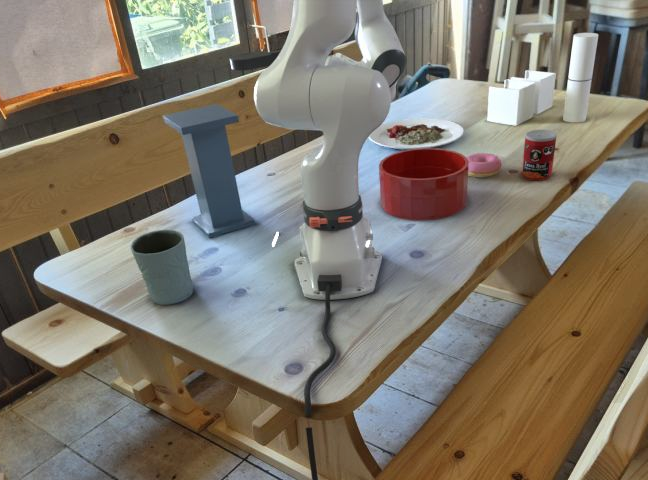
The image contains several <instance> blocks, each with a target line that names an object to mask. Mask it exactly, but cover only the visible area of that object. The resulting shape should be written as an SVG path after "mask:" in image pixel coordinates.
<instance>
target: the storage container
mask: <svg viewBox="0 0 648 480" xmlns="http://www.w3.org/2000/svg"><path fill="white" fill-rule="evenodd" d="M556 76H557V72H551V71H550V72H549V71H540V70H539V71H538V70H531V69H526V70H525V71H524V77H517V76H513V75H512V76H511V77H510V78H509V79H508V78H506V79H504V81H503V87H497V86H492V85H490V86H488V98H487V114H486V115H487V116H486V121H487V122H490V123H495V124H496V123H497V124H503V125H509V126H514V127H515V126H516V127H517V126H518V125H520V124H522V123H525V122H527V121H528V120H530V119H532V118H533V117H534V115H539V114H541V113H543V112H545V111H546V110H548V109H551V108H553V105H554V95H555V86H556Z"/></svg>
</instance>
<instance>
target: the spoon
mask: <svg viewBox="0 0 648 480" xmlns="http://www.w3.org/2000/svg"><path fill="white" fill-rule="evenodd" d="M281 50H282V49H278V50H272V51H267V52H265V51H261V50H255V51H251V52H245V53H240V54H235V55H232V56H230V57H229V63H230V68H231V70H233V71H251V70H256V69H262V68H266V67H267V68H268V67H269V66H270V65H271V64H272V63H273V62H274V61H275V59H276V58H277V57H278V55H279V54H280V52H281Z"/></svg>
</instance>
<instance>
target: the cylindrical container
mask: <svg viewBox="0 0 648 480" xmlns="http://www.w3.org/2000/svg"><path fill="white" fill-rule="evenodd" d="M598 40H599V34H598V33H595V32H578V33H575V34H573V37H572V45H571V52H570V54H571V55H570V61H569V68H568V78H567V84H566V85H567V86H566V92H565V100H564V108H563V116H562V120H563V121H564V122H567V123H582V122H585V121H586V120H587V115H588V107H589V102H590V95H591V94H590V93H591V89H592V80H593V73H594V68H595V67H594V66H595V60H596V55H597V47H598V42H599V41H598Z"/></svg>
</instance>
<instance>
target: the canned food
mask: <svg viewBox="0 0 648 480" xmlns="http://www.w3.org/2000/svg"><path fill="white" fill-rule="evenodd" d="M556 142H557V133H556V132H555V131H553V130H550V129H533V130H530V131H528V132H526V133H525V138H524V145H523V146H524V148H523V158H522V168H521V169H522V171H521V174H522V177H523V178H524V179H526V180H527V181H532V182H533V181H535V182H536V181H537V182H540V181H545V180H548V179H550V178H551V176H552V174H553V169H554V168H553V166H554V161H555V160H554V159H555V151H556Z"/></svg>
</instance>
